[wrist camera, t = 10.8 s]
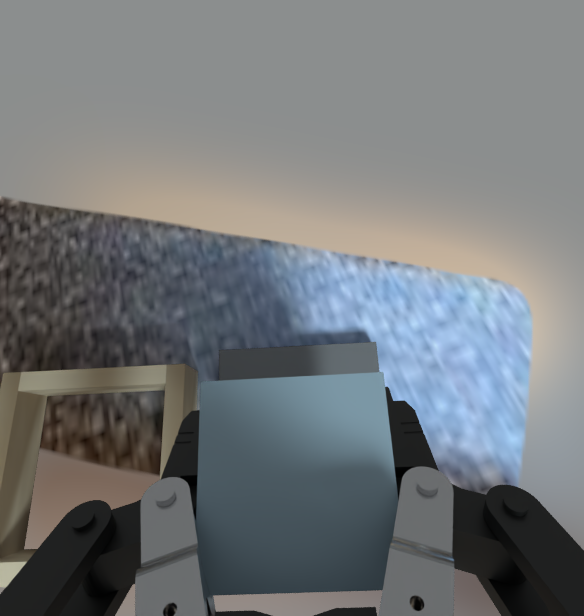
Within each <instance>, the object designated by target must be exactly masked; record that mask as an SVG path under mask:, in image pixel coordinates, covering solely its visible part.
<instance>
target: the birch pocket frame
mask: <svg viewBox="0 0 584 616" xmlns="http://www.w3.org/2000/svg"><path fill="white" fill-rule="evenodd" d="M197 383H198V371H196V370H194V369H193V368H191V367H190V366H188V365H186V364H171V365H151V366H132V367H112V368H93V369H73V370H54V371H34V372H15V373H3V378H2V383H1V388H0V587H7V586H8V584H9V583H10V582H11V581H12V580H13V578H14V577H15V576H16V575H17V573H18V572H19V571H20V570H21V569H22V567H23V566H24V565H25V564H26V563H27V561H28V560H29V559H30V558H31V557H32V555H33V554H34V553H35V552H36V550H37V549H26V550H24V546H25V539H26V532H27V526H28V520H29V513H30V506H31V500H32V494H33V487H34V480H35V474H36V467H37V461H38V454H39V448H40V441H41V435H42V428H43V422H44V415H45V409H46V402H47V396H57V395H78V394H98V393H118V392H139V391H159V390H165V400H164V417H163V433H162V450H161V467H160V479H161V477H162V474H163V471H164V468H165V466H166V463H167V460H168V458H169V455H170V452H171V450H172V447H173V445H174V442H175V439H176V436H177V435H178V431H179V428H180V425H181V423H182V421H183V420H184V418H185V417H186V416H187V415H188V414H189V413H190V412H191V411H196V410H197Z"/></svg>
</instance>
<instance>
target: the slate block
mask: <svg viewBox="0 0 584 616" xmlns="http://www.w3.org/2000/svg"><path fill="white" fill-rule="evenodd" d="M397 507H398V493H397V484H396V476H395V467H394V459H393V450H392V442H391V433H390V425H389V417H388V408H387V400H386V391H385V383H384V374H383V372H375V373H356V374H337V375H318V376H299V377H280V378H261V379H242V380H223V381H204V382H200V414H199V446H198V477H197V509H196V525H197V532H198V538H199V545H200V552H201V558H202V563H203V568H204V573H205V577H206V580H207V584H208V588H209V591H210V595H237V594H270V593H271V594H272V593H302V592H335V591H336V592H337V591H367V590H383V585H384V579H385V573H386V567H387V561H388V554H389V548H390V543H391V540H392V538H393V533H394V526H395V520H396V514H397Z"/></svg>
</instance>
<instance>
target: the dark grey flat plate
mask: <svg viewBox="0 0 584 616" xmlns="http://www.w3.org/2000/svg"><path fill="white" fill-rule="evenodd" d="M375 372H379V364H378V355H377V346H376V342H365V343H346V344H327V345H308V346H289V347H270V348H251V349H232V350H219V381H223V380H242V379H261V378H280V377H299V376H318V375H337V374H356V373H375Z"/></svg>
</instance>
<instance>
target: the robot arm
mask: <svg viewBox="0 0 584 616" xmlns="http://www.w3.org/2000/svg"><path fill="white" fill-rule="evenodd" d="M385 391H386V400H387V408H388V417H389V425H390V433H391V442H392V450H393V459H394V467H395V476H396V484H397V493H398V507H397V514H396V520H395V526H394V533H393V538H392V540H391V543H390V548H389V554H388V561H387V567H386V573H385V579H384V585H383V592H382V598H381V604H380V611H379V616H454V568H455V569H458V570H462V571H465V572H468V573H472V574H475V575H476V576H477V577H478V579H479V581H480V582H481V584H482V585H483V587H484V589H485V590H486V592H487V593H488V595H489V597H490V598H491V600H492V601H493V603H494V605H495V606H496V608H497V609H498V611H499V613H500V614H501V616H584V550H583V549H582V548H581V547H580V546H579V545H578V544H577V543H576V542H575V541H574V540H573V538H572V537H571V536H570V535H569V534H568V533H567V532H566V531H565V530H564V528H563V527H562V526H561V525H560V524H559V523H558V522H557V521H556V520H555V519H554V518H553V517H552V515H550V513H549V512H548V511H547V510H546V509H545V508H544V507H543V506H542V505H541V503H540V502H539V501H538V500H537V499H536V498H535V497H534V496H532V495H531V494H529V493H528V492H526V491H525V490H523V489H521V488H518V487H515V486H511V485H498V486H495V487H493V488H491V489H490V490H489V491H488V493H487V495H485V494H481V493H476V492H472V491H468V490H464V489H461V488H459V487H457V486H455V485H453V484H452V483H451V482H450V481H449V479H448V478H447V477H446V476H445V475H444V474H442V473H441V472H439V470H438V468H437V465H436V463H435V460H434V458H433V455H432V453H431V450H430V448H429V445H428V443H427V440H426V438H425V435H424V434H423V430H422V428H421V425H420V424H419V420H418V417H417V415H416V412H415V410H414V409H413V408H412V407H411V406H410V405H409V404H408V403H407V402H406V401H393V399H392V396H391V393H390V390H389V388H388V387H385ZM199 414H200V410H196V411H191V412H190V413H189V414H188V415H187V416H186V417H185V418H184V420H183V421H182V423H181V425H180V428H179V431H178V435H177V436H176V439H175V442H174V445H173V447H172V450H171V452H170V455H169V458H168V460H167V463H166V466H165V468H164V471H163V474H162V477H161V479H160V480H159V481H157V482H156V483H154V484H153V485H151V486H150V487H149V488H148V489H147V490H146V492H145V493H144V495H143V497H142V499H141V500H139V501H137V502H135V503H132V504H129V505H125V506H122V507H119V508H116V509H113V510H111V508H110V506H109V505H108V504H107V503H106V502H104V501H101V500H93V501H89V502H85V503H83V504H80V505H79V506H77V507H75V508H74V509H73V510H71V511H70V512H69V513H68V514H67V515H66V516H65V517H64V518H63V519H62V520H61V521H60V523H59V524H58V525H57V526H56V527H55V529H54V530H53V531H52V532H51V534H50V535H49V536H48V537H47V538H46V540H45V541H44V542H43V543H42V545H41V546H40V547H39V548H38V549H37V550H36V552H35V553H34V554H33V555H32V557H31V558H30V559H29V560H28V561H27V563H26V564H25V565H24V566H23V567H22V569H21V570H20V571H19V572H18V573H17V575H16V576H15V577H14V578H13V580H12V581H11V582H10V583H9V584H8V586H7V587H6V588H5V589H4V590H3V592H2V593H1V594H0V616H115V614H116V613H117V611H118V609H119V607H120V606H121V604H122V602H123V600H124V599H125V597H126V595H127V593H128V592H129V590H130V588H131V586H132V585H133V584H135V616H271V615H268V614H264V613H261V612H257V611H226V612H216V610H215V605H214V599H213V595H210V591H209V588H208V584H207V580H206V577H205V573H204V568H203V563H202V558H201V552H200V545H199V538H198V532H197V525H196V509H197V477H198V446H199ZM314 616H377V613H376V608H375V607H364V608H335V609H332V610H329V611H326V612H323V613H320V614H317V615H314Z"/></svg>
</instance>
